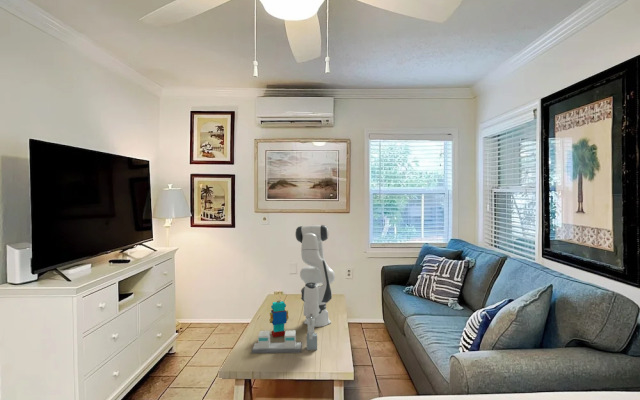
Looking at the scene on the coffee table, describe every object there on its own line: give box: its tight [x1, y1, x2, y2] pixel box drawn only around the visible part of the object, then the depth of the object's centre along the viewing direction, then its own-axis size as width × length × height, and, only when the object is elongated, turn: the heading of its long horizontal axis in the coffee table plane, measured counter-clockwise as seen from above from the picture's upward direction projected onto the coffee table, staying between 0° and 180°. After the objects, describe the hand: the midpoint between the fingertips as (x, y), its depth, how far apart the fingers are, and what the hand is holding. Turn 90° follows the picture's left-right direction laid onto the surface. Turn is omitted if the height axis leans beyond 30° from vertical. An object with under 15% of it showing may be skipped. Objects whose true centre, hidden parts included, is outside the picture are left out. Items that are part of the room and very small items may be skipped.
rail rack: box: [251, 329, 303, 354], centre depth 208 cm, size 11×28×9 cm, turn 91°
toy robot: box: [269, 296, 289, 338], centre depth 227 cm, size 12×6×25 cm, turn 111°
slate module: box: [306, 332, 318, 351], centre depth 208 cm, size 4×6×8 cm
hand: (311, 335), depth 208 cm, fingers open, 8 cm apart
